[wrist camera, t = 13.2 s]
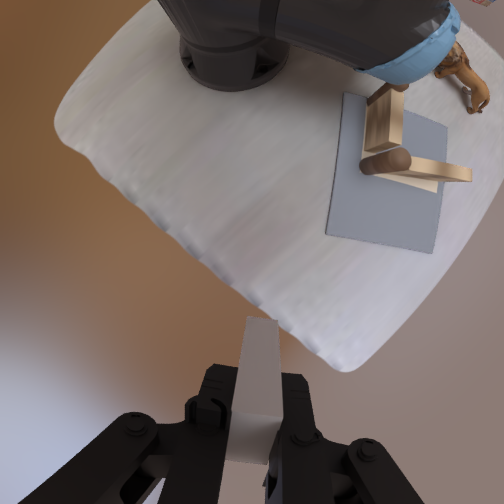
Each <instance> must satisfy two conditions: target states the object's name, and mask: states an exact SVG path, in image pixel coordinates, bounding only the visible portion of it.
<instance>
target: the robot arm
mask: <svg viewBox="0 0 504 504" xmlns="http://www.w3.org/2000/svg"><path fill="white" fill-rule="evenodd" d="M158 2H159V3H160V5H161V6H162V8H163V9H164V10H165V12H166V13H167V15H168V16H169V18H170V19H171V21H172V22H173V24H174V25H175V27H176V28H177V30H178V31H179V33H180V56H181V60H182V62H183V64H184V66H185V68H186V69H187V71H188V72H189V73H190V75H191V76H192V77H193V78H194V79H195V80H196V81H198V82H199V83H201V84H202V85H204V86H207V87H209V88H212V89H216V90H221V91H242V90H247V89H251V88H254V87H257V86H259V85H262V84H264V83H265V82H267V81H269V80H270V79H272V78H273V77H274V76H275V75H276V74H277V73H278V72H279V71H280V70H281V69H282V68H283V66H284V64H285V62H286V60H287V57H288V53H289V45H290V44H291V45H294V46H297V47H300V48H303V49H306V50H309V51H312V52H315V53H317V54H320V55H323V56H325V57H328V58H331V59H333V60H336V61H338V62H341V63H343V64H345V65H348V66H350V67H352V68H353V69H354V70H355V71H357V72H360V73H367V74H370V75H372V76H374V77H376V78H379V79H381V80H383V81H385V82H387V83H390V84H394V85H402V84H410V83H413V82H415V81H417V80H419V79H421V78H423V77H424V76H426V75H427V74H429V73H430V72H431V71H432V70H433V69H435V68H436V67H437V66H438V65H439V64H440V63H441V62H442V60H443V59H444V58H445V57H446V56H447V54H448V53H449V51H450V50H451V48H452V47H453V45H454V43H455V41H456V37H455V34H457V33H458V32H459V30H460V16H459V13H458V11H457V10H456V9H455V7H454V5H453V4H452V3H451V2H449V0H158ZM310 399H311V398H310V393H309V386H308V382H307V381H306V380H305V378H304V377H303V376H302V374H291V373H282V372H281V363H280V346H279V331H278V320H272V319H265V318H258V317H251V316H247V321H246V327H245V333H244V338H243V345H242V350H241V356H240V362H239V368H238V367H231V366H225V365H220V364H213V365H212V366H211V367H209V368H208V369H207V370H206V373H205V376H204V380H203V382H202V385H201V388H200V391H199V394H198V395H197V396H194V397H192V398H190V399H189V400H188V401H187V402H186V404H185V420H184V421H182V422H179V423H173V424H156V422H155V420H154V419H153V418H151V417H150V416H148V415H146V414H143V413H140V412H129V413H124V414H123V415H121V416H119V417H118V418H117V419H116V420H115V421H113V422H112V423H111V424H110V425H109V426H108V427H107V428H106V429H105V430H104V431H102V432H101V433H100V434H99V435H98V436H97V437H96V438H95V439H93V440H92V441H91V442H90V443H89V444H88V445H87V446H86V447H84V448H83V449H82V450H81V451H80V452H79V453H78V454H76V455H75V456H74V457H73V458H72V459H71V460H70V461H68V462H67V463H66V464H65V465H64V466H63V467H61V468H60V469H59V470H58V471H57V472H56V473H54V474H53V475H52V476H51V477H50V478H48V479H47V480H46V481H45V482H44V483H42V484H41V485H40V486H39V487H37V488H36V489H35V490H34V491H33V492H31V493H30V494H29V495H28V496H26V497H25V498H24V499H23V500H22V501H20V502H19V503H18V504H142V503H143V502H144V501H145V500H146V498H147V497H148V495H150V493H151V492H152V491H153V489H154V488H155V487H156V485H157V484H158V483H159V482H160V480H161V479H162V478H166V479H165V482H164V485H163V488H162V491H161V494H160V497H159V500H158V503H157V504H218V498H219V492H220V486H221V480H222V473H223V467H224V462H225V460H231V461H237V462H245V463H254V464H264V465H267V463H268V460H269V470H268V472H267V475H266V477H265V480H264V482H263V485H262V486H264V487H265V486H266V491H265V504H424V503H423V501H422V500H421V498H420V497H419V496H418V494H417V493H416V491H415V490H414V488H413V487H412V486H411V484H410V483H409V481H408V480H407V479H406V477H405V476H404V474H403V473H402V472H401V470H400V469H399V467H398V466H397V464H396V463H395V462H394V460H393V459H392V458H391V456H390V454H389V453H388V452H387V451H386V449H385V448H384V447H383V445H382V444H380V443H379V442H377V441H375V440H373V439H368V438H362V439H357V440H355V441H353V442H352V443H351V444H350V445H349V446H348V445H344V444H339V443H335V442H332V441H329V440H327V439H325V438H324V437H323V435H322V433H321V432H320V431H319V430H318V429H317V428H316V426H315V421H314V415H313V409H312V403H311V400H310Z"/></svg>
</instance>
